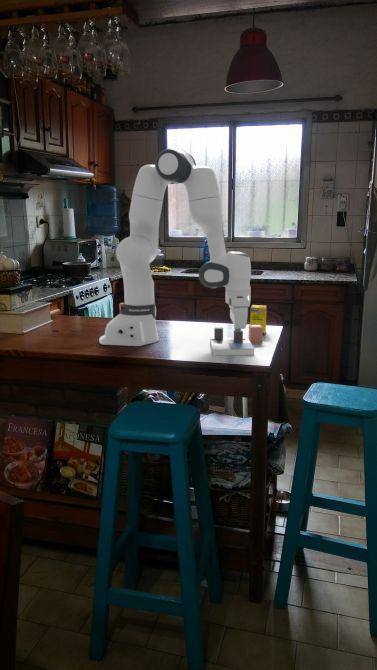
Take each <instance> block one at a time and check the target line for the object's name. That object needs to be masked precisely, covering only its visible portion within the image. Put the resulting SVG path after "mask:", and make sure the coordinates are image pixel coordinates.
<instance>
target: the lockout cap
mask: <svg viewBox="0 0 377 670" xmlns="http://www.w3.org/2000/svg"><path fill="white" fill-rule="evenodd" d="M262 334H263V327H262V326H261V325H250V324H248V339H249V341H250V342H251V344H263V335H262Z"/></svg>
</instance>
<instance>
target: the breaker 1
mask: <svg viewBox="0 0 377 670" xmlns="http://www.w3.org/2000/svg"><path fill="white" fill-rule="evenodd" d="M213 331H214V336H213V338H214V339H215V340H223V338H224V328H223V327H219V326H218V327H214V328H213Z"/></svg>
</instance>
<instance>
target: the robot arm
mask: <svg viewBox="0 0 377 670" xmlns="http://www.w3.org/2000/svg"><path fill="white" fill-rule="evenodd" d="M138 170H139V171H138V173H137V175H136V178H135V182H134V186H133V188H132V189H133V190H132V195H131V201H130V207H129V212H128V219H129V236H128V237H125V238H124V239H122V240H121V241H119V243H118V245H117V247H116V250H115V256H116V259H117V261H118V263H119V266H120V270H121V275H122V280H123V293H124V295H123V296H124V299H123V300H124V302H120V303H119V304H118V307H119V309H118V310H119V311H118V312H119V313H118V314H117V315H116V316H115V317H113V318H112V319H111V320H110V321H109V322H108V323H106V326H105V331H104V334H103V335H101V336H100V337H99V338H98V339H99V340H98V343H99V344H100V345H106V346H109V345H110V346H128V347H132V346H133V347H142V346H145V345H149V344H154V343H157V342H158V341H160V336H159V333H158V329H157V322H156V317H157V307H156V302H155V282H154V279H153V276H152V272H151V267H150V266H151V265H150V263H152V262H154V260H155V259H156V257H157V255H158V254H159V236H160V235H159V234H160V233H159V232H160V231H159V230H160V229H159V228H160V227H159V226H160V221H161V219H160V218H161V214H162V208H163V202H164V196H165V194H166V193H165V192H166V189H167V187H168V186H169V185H174V184H183V186H184V187H185V189H186V192H187V201H188V207H189V208H188V209H189V211H190V215H191V217H192V218H191V219H192V221H193V222H194V223H195V224H196V225H197V226H198V227H199V228H201V230H202V231H203V232H204V234H205V237H206V241H207V246H208V252H209V261H207V262H205V263H204V264H203V265H201V267H200V268H199V271H198V279H199V282H200V284H202V285H203V286H204V287H205V288H210V289H217V288H221V287H224V288H225V303H226V304H228V308H230V309H229V317H230V320H231V322H232V323H233V327H234V331H242V330H243V329H246V327H247V323H248V315H249V307H250V306H251V300H252V299H251V298H252V295H251V292H252V291H251V290H252V289H251V284H250V282H251V279H252V265H251V257H250V256H249V255H248V253H245V252H241V251H238V250H231V251H230V250H229V251H228V252H227V246H226V239H225V234H224V228H223V218H222V217H223V216H222V215H223V214H222V203H221V194H220V188H219V183H218V180H217V177H216V174H215V171H214V170H213V168H211V167H209V166H205V165H197V163H196V160H195V159H194V157H193V156H192V155H191V154H190V153H188V152H186V151H185V150H183V149H181V148H180V149H179V148H173V147H169V148H165V149H163V150H162V151H160V152H159V153H158V155H156V159H155V163H154V164H145V165H143V166H141V167H140V168H139V169H138Z"/></svg>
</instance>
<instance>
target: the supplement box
mask: <svg viewBox="0 0 377 670" xmlns="http://www.w3.org/2000/svg"><path fill="white" fill-rule="evenodd" d="M250 306H251V307H250V310H249V311H250V317H249V319H250V320H249V322H250V323H249V325H261V326H262V327H263V334H262V336H265V335H266V332H267V305H262V304H261V305H257V304H252V305H250Z"/></svg>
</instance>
